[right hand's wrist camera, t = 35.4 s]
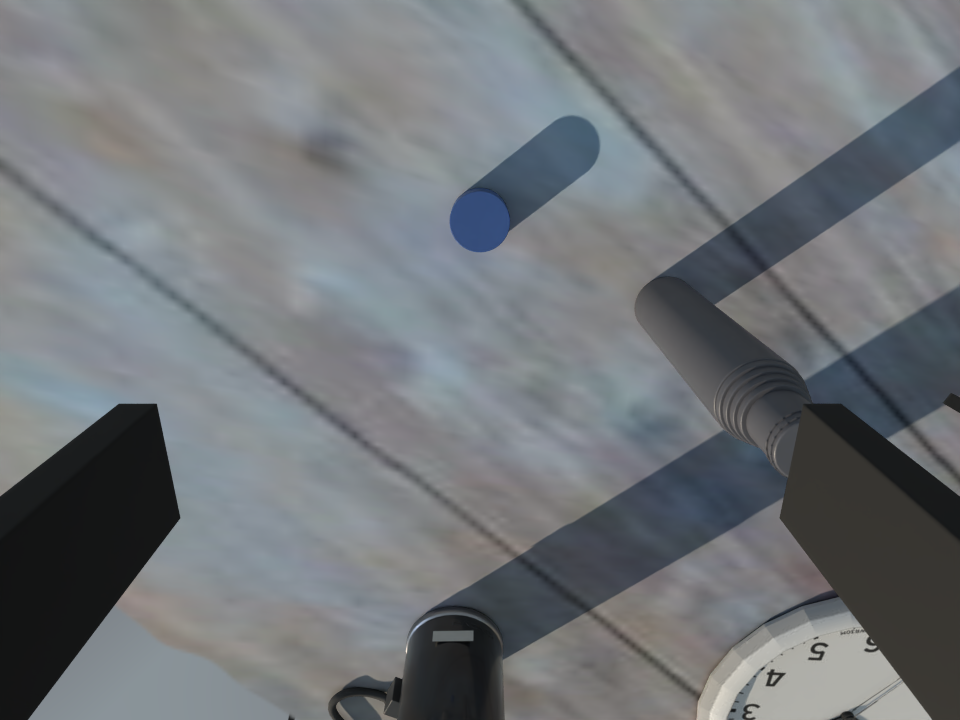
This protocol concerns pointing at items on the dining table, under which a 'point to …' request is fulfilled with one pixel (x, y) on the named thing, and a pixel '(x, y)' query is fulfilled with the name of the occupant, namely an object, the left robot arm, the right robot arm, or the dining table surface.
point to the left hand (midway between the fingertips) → (906, 464)
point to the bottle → (726, 368)
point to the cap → (479, 220)
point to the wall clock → (808, 673)
